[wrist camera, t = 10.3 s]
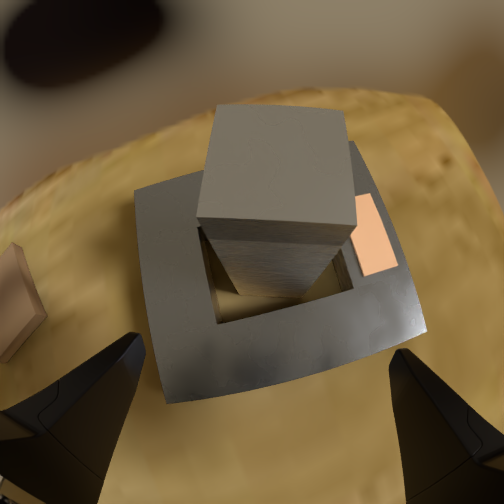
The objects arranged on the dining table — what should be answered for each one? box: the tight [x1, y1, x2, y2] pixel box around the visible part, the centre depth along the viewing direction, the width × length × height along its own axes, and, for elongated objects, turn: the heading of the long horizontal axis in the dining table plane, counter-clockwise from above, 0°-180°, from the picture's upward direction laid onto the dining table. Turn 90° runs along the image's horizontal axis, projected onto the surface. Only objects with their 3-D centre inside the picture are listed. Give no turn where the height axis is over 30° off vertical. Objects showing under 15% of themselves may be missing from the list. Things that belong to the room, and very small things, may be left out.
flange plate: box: [134, 141, 427, 404], centre depth 18 cm, size 14×16×3 cm
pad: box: [0, 243, 47, 363], centre depth 18 cm, size 8×8×2 cm
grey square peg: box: [196, 105, 357, 298], centre depth 13 cm, size 4×4×12 cm
